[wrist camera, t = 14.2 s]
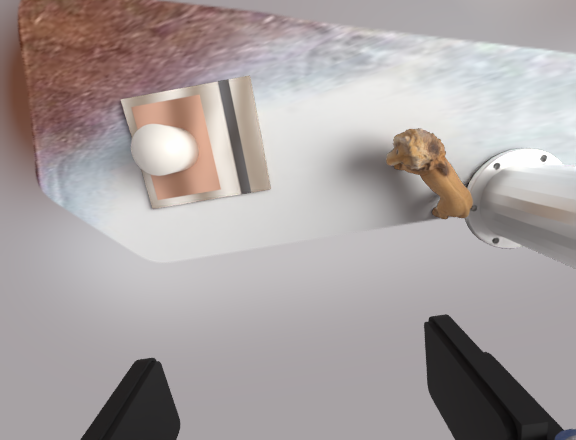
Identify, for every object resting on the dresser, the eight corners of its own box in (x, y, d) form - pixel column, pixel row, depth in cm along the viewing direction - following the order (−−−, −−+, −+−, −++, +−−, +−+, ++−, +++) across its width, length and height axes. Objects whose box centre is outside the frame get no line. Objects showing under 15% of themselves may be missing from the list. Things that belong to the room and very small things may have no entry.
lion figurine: (362, 154, 36) (386, 158, 27) (393, 118, 35) (428, 111, 26) (445, 227, 38) (491, 252, 30) (476, 195, 37) (533, 212, 29)
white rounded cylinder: (191, 123, 34) (173, 118, 28) (203, 166, 35) (188, 170, 30) (150, 132, 34) (123, 129, 29) (163, 174, 36) (140, 180, 30)
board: (250, 77, 34) (249, 75, 33) (270, 188, 37) (270, 189, 36) (124, 100, 34) (120, 99, 34) (155, 207, 38) (152, 209, 37)
